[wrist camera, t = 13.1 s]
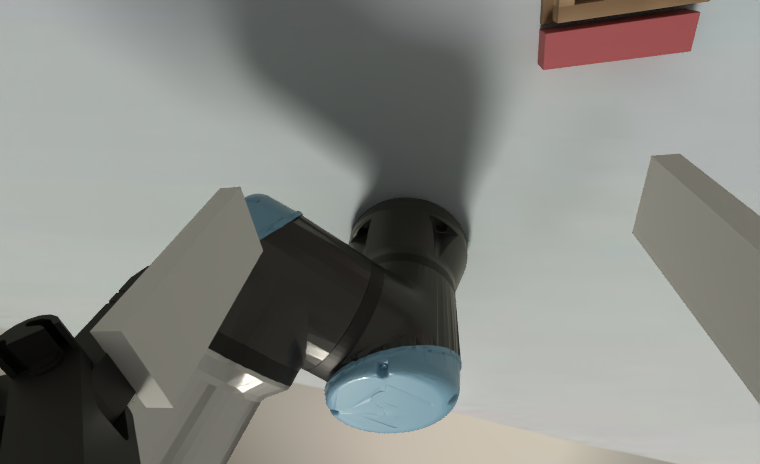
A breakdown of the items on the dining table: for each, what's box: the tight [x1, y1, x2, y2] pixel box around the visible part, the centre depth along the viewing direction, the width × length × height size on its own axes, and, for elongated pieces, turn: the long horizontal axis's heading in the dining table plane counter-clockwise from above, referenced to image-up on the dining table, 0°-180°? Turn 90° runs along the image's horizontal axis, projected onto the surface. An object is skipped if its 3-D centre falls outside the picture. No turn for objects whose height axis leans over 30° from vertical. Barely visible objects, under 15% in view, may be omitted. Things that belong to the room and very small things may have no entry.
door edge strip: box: [538, 9, 700, 70], centre depth 36 cm, size 3×12×2 cm, turn 99°
